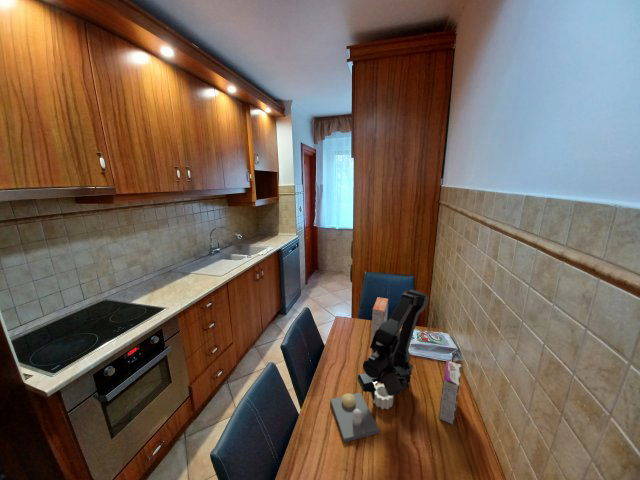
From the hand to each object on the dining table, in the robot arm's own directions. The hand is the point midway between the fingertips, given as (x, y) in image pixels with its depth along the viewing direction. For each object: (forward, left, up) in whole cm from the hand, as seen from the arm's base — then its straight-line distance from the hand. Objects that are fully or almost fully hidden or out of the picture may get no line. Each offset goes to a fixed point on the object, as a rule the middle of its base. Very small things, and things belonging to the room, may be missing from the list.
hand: (382, 397), depth 92 cm
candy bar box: (-21, +9, -2) cm, 23 cm away
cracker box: (-16, -34, -2) cm, 38 cm away
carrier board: (+13, +3, -2) cm, 14 cm away
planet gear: (0, 0, -2) cm, 2 cm away
